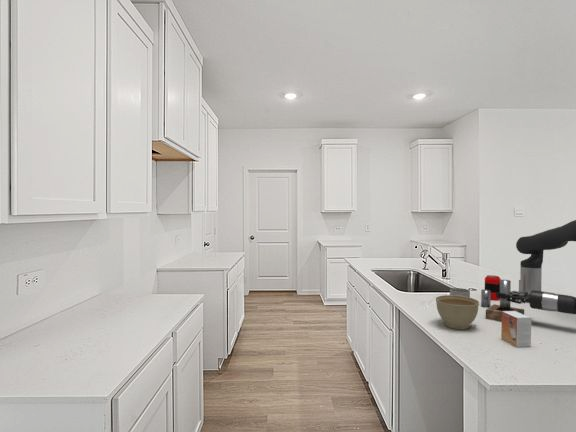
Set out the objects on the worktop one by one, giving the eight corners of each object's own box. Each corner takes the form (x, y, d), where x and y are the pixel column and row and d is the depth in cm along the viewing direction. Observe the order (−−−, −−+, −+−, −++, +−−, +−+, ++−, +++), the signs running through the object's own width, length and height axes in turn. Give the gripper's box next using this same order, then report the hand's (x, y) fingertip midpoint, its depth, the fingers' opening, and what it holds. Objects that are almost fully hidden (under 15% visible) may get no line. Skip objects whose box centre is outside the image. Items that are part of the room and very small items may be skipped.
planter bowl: (429, 319, 156) (429, 294, 155) (467, 319, 155) (467, 295, 155) (444, 332, 139) (445, 305, 139) (486, 332, 139) (487, 305, 139)
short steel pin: (479, 305, 177) (479, 289, 177) (486, 305, 178) (486, 289, 177) (484, 307, 173) (485, 291, 173) (492, 307, 174) (492, 291, 173)
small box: (500, 339, 133) (501, 310, 132) (515, 338, 133) (515, 310, 133) (516, 347, 125) (516, 317, 124) (531, 346, 125) (531, 317, 125)
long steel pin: (497, 315, 158) (497, 279, 158) (505, 315, 158) (505, 279, 158) (504, 318, 154) (504, 281, 154) (512, 317, 155) (512, 281, 154)
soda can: (497, 301, 185) (498, 278, 184) (482, 298, 190) (482, 276, 190) (503, 298, 190) (503, 276, 189) (487, 296, 195) (487, 274, 195)
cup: (461, 314, 162) (461, 292, 162) (446, 310, 170) (446, 289, 169) (473, 312, 166) (473, 290, 166) (458, 307, 174) (458, 287, 173)
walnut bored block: (485, 318, 156) (485, 309, 156) (493, 312, 165) (493, 304, 165) (517, 325, 148) (517, 315, 148) (524, 318, 156) (524, 309, 156)
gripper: (548, 289, 151) (502, 283, 163) (541, 295, 141) (493, 288, 153) (548, 306, 151) (502, 299, 163) (541, 313, 141) (492, 305, 153)
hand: (498, 294), depth 158 cm, fingers closed on long steel pin, 4 cm apart
